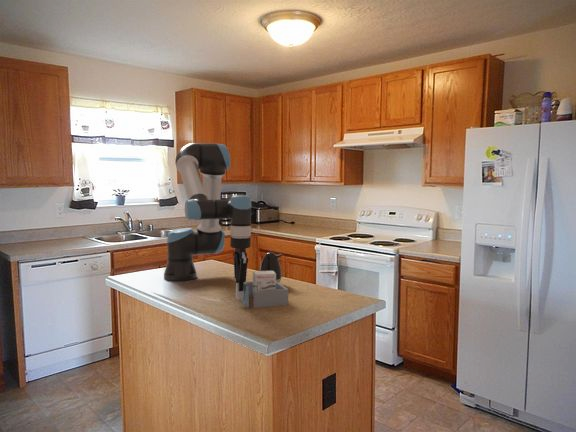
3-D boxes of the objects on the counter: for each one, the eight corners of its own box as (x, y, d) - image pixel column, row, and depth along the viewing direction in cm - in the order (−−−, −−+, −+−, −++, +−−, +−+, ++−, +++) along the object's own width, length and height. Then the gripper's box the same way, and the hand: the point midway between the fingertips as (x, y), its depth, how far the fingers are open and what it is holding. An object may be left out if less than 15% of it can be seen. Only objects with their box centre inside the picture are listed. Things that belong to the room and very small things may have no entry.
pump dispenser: (279, 288, 183) (279, 254, 182) (256, 287, 185) (256, 253, 184) (284, 283, 193) (284, 250, 192) (262, 281, 195) (262, 249, 194)
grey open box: (238, 297, 169) (238, 275, 169) (273, 293, 175) (273, 272, 174) (249, 308, 154) (249, 284, 154) (288, 304, 160) (288, 281, 159)
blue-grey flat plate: (239, 297, 168) (239, 277, 167) (242, 297, 168) (242, 277, 167) (245, 307, 155) (246, 286, 154) (248, 307, 155) (248, 285, 155)
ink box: (253, 304, 160) (254, 274, 159) (252, 301, 164) (252, 271, 163) (276, 303, 162) (276, 273, 160) (273, 299, 166) (274, 270, 165)
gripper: (255, 238, 152) (254, 302, 154) (245, 234, 164) (244, 293, 166) (235, 239, 149) (234, 304, 151) (226, 234, 161) (226, 295, 163)
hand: (239, 298), depth 159 cm, fingers closed
